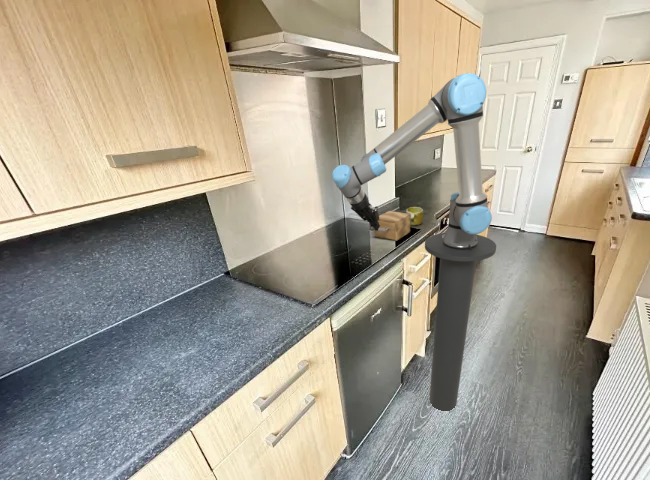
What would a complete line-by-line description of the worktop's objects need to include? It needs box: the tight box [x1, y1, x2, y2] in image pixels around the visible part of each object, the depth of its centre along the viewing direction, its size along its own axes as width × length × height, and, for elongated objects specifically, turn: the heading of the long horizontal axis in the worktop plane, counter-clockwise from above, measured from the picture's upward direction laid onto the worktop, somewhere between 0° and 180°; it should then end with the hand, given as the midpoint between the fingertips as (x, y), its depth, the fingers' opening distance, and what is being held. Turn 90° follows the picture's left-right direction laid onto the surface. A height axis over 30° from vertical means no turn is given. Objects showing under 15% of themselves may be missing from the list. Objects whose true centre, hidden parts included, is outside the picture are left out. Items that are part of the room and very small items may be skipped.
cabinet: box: [374, 210, 411, 242], centre depth 160 cm, size 15×13×10 cm
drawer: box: [369, 220, 396, 240], centre depth 156 cm, size 20×11×8 cm, turn 147°
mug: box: [405, 206, 424, 227], centre depth 174 cm, size 12×10×10 cm
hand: (377, 227), depth 148 cm, fingers closed
